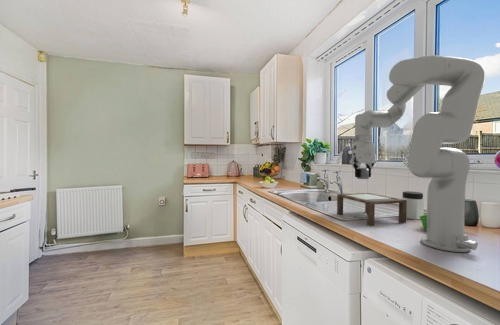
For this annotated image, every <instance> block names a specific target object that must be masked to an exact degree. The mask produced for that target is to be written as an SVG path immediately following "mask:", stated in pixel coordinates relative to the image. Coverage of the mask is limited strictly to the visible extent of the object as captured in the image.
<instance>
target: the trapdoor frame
mask: <svg viewBox="0 0 500 325" xmlns="http://www.w3.org/2000/svg"><path fill="white" fill-rule="evenodd" d="M354 194H355V193H342V194H341V193H340V194H338V193H337V195H336V200H337V202H336V214H337V215H338V216H343V215H344V199H346V200H351V201H355V202H359V203H363V204H364V205H365V206H364V213H366V225H367V226H369V227H375V214H376V213H375V208H376V206H375V205H385V204H398V223H400V224H407V218H406V210H407V200H403V199H402V198H397V197H390V196H387V195H381V194H377V193H372V192H371V193H370V192H361V193H359V192H358V193H357V194H371V195H377V196H382V197H387V198H391V199H395V200H383V201H368V200H364V199H359V198H355V197H351V196H346V195H354Z"/></svg>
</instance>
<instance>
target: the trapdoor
mask: <svg viewBox="0 0 500 325" xmlns="http://www.w3.org/2000/svg"><path fill="white" fill-rule="evenodd" d="M353 194H354V195H346V196H351V197H355V198H359V199H364V200H368V201H383V200H395V199H391V198H387V197H388V196H387V197H382V196H383V195H382V196H377V195H378V194H376V195H371V194H372V193H371V194H358V193H353Z"/></svg>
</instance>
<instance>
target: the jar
mask: <svg viewBox="0 0 500 325" xmlns="http://www.w3.org/2000/svg"><path fill="white" fill-rule="evenodd" d="M401 199H403V200H407V210H406V220H407V219H408V220H416V221H417V220H421V219H420V216H423V215H425V214H424V213H425V211H424V210H425V199H424V193H423V192H420V191H412V190H411V191H409V190H408V191H407V190H406V191H405V190H404V191H402V196H401Z"/></svg>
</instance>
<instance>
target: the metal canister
mask: <svg viewBox="0 0 500 325" xmlns="http://www.w3.org/2000/svg"><path fill="white" fill-rule="evenodd" d="M360 169H361V177H356V179H358V180H369V179H370V177H369V168H366V167H360Z"/></svg>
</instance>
